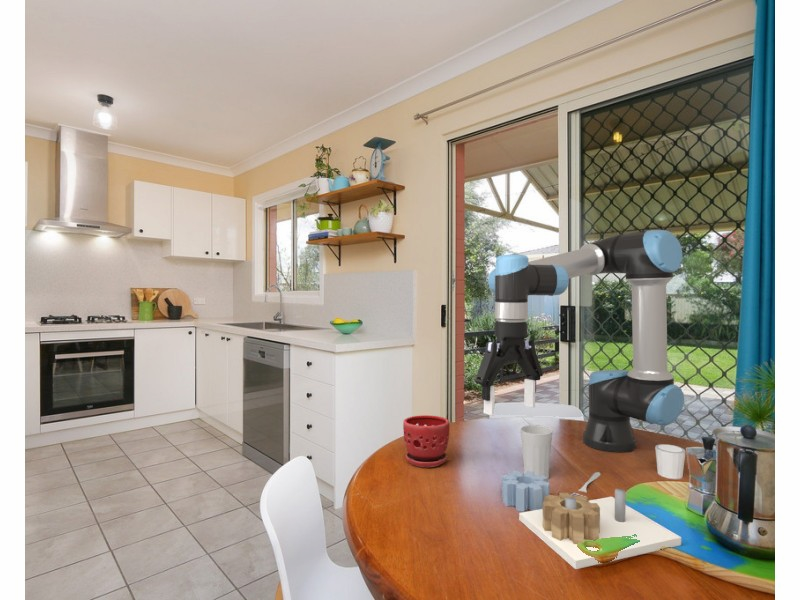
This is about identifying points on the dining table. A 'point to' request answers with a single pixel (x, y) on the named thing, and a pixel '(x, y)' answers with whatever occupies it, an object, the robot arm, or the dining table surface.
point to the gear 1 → (524, 490)
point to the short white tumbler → (670, 461)
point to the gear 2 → (571, 518)
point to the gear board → (606, 530)
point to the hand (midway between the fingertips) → (509, 410)
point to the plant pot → (426, 440)
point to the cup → (536, 449)
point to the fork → (587, 484)
